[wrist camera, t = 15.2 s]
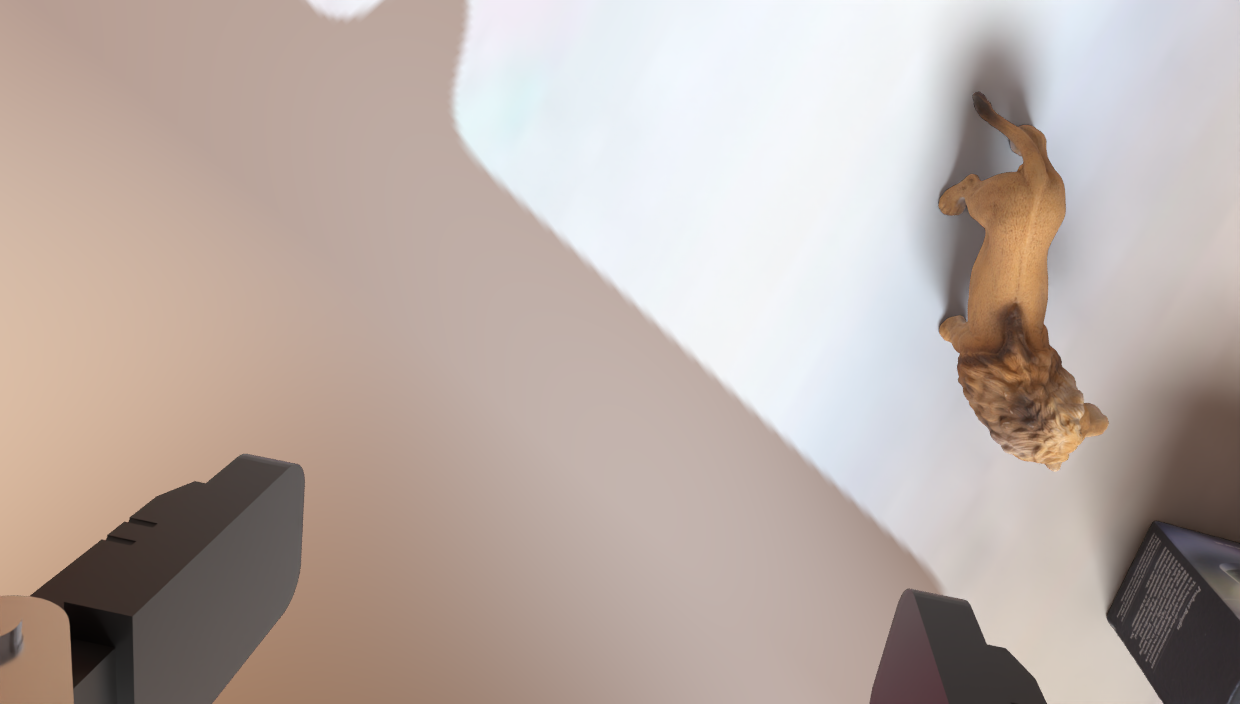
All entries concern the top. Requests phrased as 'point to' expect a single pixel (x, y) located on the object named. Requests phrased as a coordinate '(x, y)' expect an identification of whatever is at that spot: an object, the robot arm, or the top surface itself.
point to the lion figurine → (1016, 307)
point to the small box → (1183, 615)
